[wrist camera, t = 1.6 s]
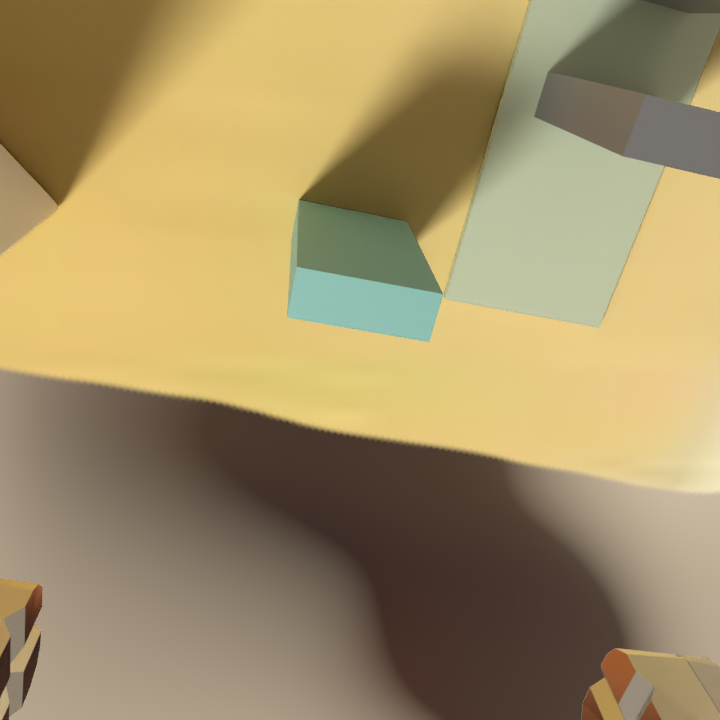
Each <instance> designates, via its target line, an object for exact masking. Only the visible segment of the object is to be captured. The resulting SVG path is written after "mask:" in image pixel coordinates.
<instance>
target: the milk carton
mask: <svg viewBox="0 0 720 720" xmlns="http://www.w3.org/2000/svg"><path fill="white" fill-rule="evenodd" d="M57 209H58V207H57V204H56V203H55V201H54V200H53V199H52V198H51V197H50V196H49V195H48V193H47V192H46V191H45V190H44V189H43V188H42V187H41V186H40V185H39V184H38V183H37V182H36V181H35V180H34V179H33V178H32V177H31V175H30V174H29V173H28V172H27V171H26V170H25V169H24V168H23V167H22V166H21V165H20V164H19V163H18V162H17V161H16V160H15V159H14V158H13V157H12V155H11V154H10V153H9V152H8V151H7V150H6V149H5V148H4V147H3V146H2V145H1V144H0V257H1V256H2V255H3V254H5V253H6V252H7V251H8V250H9V249H11V248H12V247H13V246H14V245H16V244H17V243H18V242H19V241H20V240H22V239H23V238H24V237H25V236H26V235H28V234H29V233H30V232H31V231H33V230H34V229H35V228H36V227H37V226H39V225H40V224H41V223H42V222H43V221H45V220H46V219H47V218H48V217H49V216H51V215H52V214H53V213H54V212H55V211H56V210H57Z"/></svg>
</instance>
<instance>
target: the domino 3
mask: <svg viewBox="0 0 720 720" xmlns="http://www.w3.org/2000/svg"><path fill="white" fill-rule="evenodd" d="M642 1H646V2H650V3H654V4H657V5H661V6H665V7H668V8H672V9H676V10H679V11H683V12H687V13H720V0H642Z"/></svg>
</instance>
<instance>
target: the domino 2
mask: <svg viewBox="0 0 720 720" xmlns="http://www.w3.org/2000/svg"><path fill="white" fill-rule="evenodd" d="M534 117H536V118H538V119H540V120H542V121H545V122H547V123H549V124H551V125H554V126H556V127H558V128H560V129H563V130H565V131H567V132H569V133H572V134H574V135H576V136H578V137H580V138H583V139H585V140H587V141H589V142H592V143H594V144H596V145H598V146H601V147H603V148H605V149H607V150H610V151H612V152H614V153H616V154H619V155H621V156H623V157H628V158H632V159H637V160H641V161H645V162H650V163H654V164H658V165H663V166H667V167H671V168H676V169H680V170H685V171H689V172H693V173H698V174H702V175H706V176H711V177H715V178H719V179H720V112H716V111H711V110H707V109H703V108H699V107H695V106H691V105H687V104H683V103H679V102H675V101H671V100H667V99H663V98H659V97H655V96H651V95H647V94H642V93H638V92H634V91H630V90H625V89H621V88H617V87H613V86H608V85H604V84H600V83H596V82H591V81H587V80H583V79H579V78H574V77H570V76H566V75H562V74H557V73H553V72H549V71H548V73H547V77H546V80H545V83H544V86H543V89H542V92H541V96H540V99H539V102H538V105H537V108H536V112H535V115H534Z"/></svg>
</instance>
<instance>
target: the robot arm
mask: <svg viewBox="0 0 720 720" xmlns="http://www.w3.org/2000/svg"><path fill="white" fill-rule="evenodd" d="M41 608H42V586H41V585H39V584H35V583H28V582H21V581H13V580H6V579H0V720H9V717H10V716H11V715H12V714H13V713H15V712H16V711H18V710H19V709H20V708H22V706H23V703H24V701H25V699H26V696H27V694H28V691H29V688H30V686H31V683H32V679H33V675H34V672H35V669H36V665H37V661H38V655H39V650H40V641H41V631H40V630H39V628H38V627H37V626H36V625H35V624H34V623H35V621H36V619H37V617H38V615H39V612H40V610H41ZM601 669H602V671H603V674H604V677H605V678H603V679H602V680H600V681H599V682H597V683H596V684H594V685H593V686H591V687H590V688H589V691H588V693H587V695H586V697H585V699H584V702H583V706H582V720H720V667H719V666H718V665H717V664H716V663H715V662H713V661H712V660H711V659H710V658H707V657H697V656H687V655H673V654H667V653H657V652H648V651H638V650H628V649H618V648H615V649H614V650H612V651H611V652H609V653H608V654H607V655H606V657H605V659H604V661H603V663H602V665H601Z"/></svg>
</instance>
